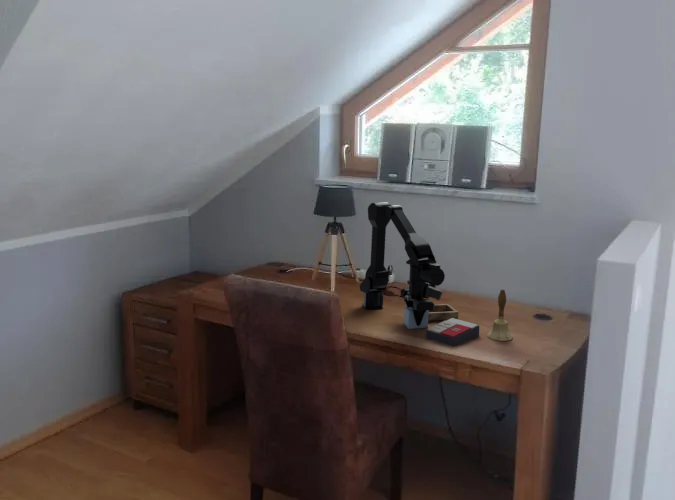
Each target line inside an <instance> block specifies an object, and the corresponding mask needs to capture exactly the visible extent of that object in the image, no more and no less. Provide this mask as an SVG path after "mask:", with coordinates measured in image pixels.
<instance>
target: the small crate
mask: <svg viewBox="0 0 675 500" xmlns="http://www.w3.org/2000/svg"><path fill="white" fill-rule="evenodd" d="M403 312H404V313H403V325H404V326H405V327H406V328H407V329H410V330H411V329H428V328H429V322H428V315H429V311H428V310H427V311H426V312H425V314H424V316H423V319H422V321H421V324H420V326H417V325H416V322H415V318H414V315H413V311H412V308H411V307H406V306H405V307H404V310H403Z"/></svg>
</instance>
